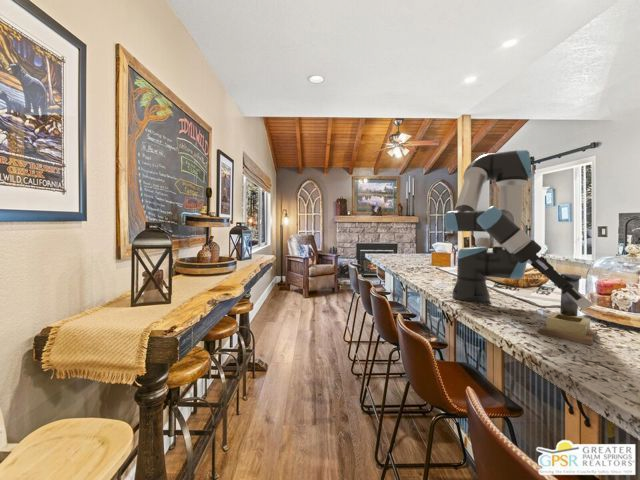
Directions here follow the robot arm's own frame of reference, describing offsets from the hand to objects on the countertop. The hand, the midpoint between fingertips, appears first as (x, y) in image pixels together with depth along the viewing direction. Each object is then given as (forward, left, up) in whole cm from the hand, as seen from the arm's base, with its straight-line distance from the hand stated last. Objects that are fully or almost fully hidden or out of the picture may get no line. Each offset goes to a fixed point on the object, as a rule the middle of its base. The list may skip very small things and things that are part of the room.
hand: (585, 305), depth 91 cm
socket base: (+1, -4, -9) cm, 10 cm away
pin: (+1, -4, -3) cm, 5 cm away
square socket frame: (+1, -4, -8) cm, 9 cm away
